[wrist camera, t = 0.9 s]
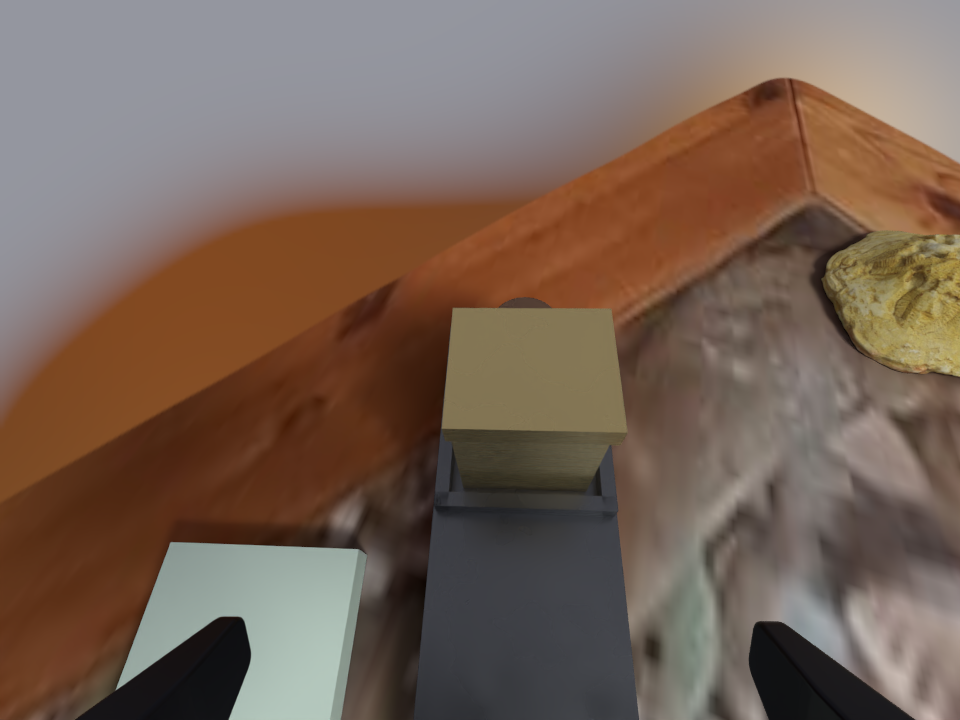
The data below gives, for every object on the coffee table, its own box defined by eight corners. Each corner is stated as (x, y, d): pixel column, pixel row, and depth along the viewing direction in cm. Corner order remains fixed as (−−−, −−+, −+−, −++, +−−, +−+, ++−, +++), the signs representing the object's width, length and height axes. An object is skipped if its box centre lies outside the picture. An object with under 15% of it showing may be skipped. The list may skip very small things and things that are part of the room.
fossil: (862, 171, 27) (1054, 180, 26) (801, 230, 33) (956, 238, 32) (891, 353, 24) (1111, 371, 23) (817, 383, 29) (991, 398, 28)
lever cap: (587, 505, 21) (627, 432, 14) (462, 501, 21) (441, 428, 14) (580, 410, 23) (611, 308, 16) (468, 408, 23) (453, 308, 17)
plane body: (637, 885, 16) (696, 989, 11) (412, 867, 17) (372, 958, 12) (588, 356, 28) (606, 291, 23) (455, 355, 29) (444, 290, 23)
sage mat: (326, 805, 18) (313, 817, 17) (104, 789, 19) (75, 799, 17) (367, 555, 23) (358, 549, 21) (189, 547, 23) (170, 541, 22)
